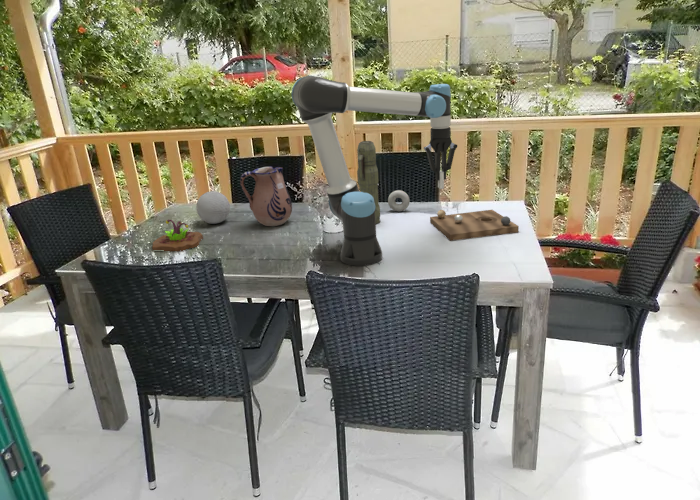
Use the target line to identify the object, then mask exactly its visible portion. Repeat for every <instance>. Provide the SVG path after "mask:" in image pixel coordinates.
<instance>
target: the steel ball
mask: <svg viewBox="0 0 700 500" xmlns="http://www.w3.org/2000/svg"><path fill="white" fill-rule="evenodd" d="M454 221H455V222H456V223H461V222H462V221H463V217H462V216H461V215H456V216H455V217H454Z"/></svg>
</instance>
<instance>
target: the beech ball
mask: <svg viewBox="0 0 700 500" xmlns="http://www.w3.org/2000/svg"><path fill="white" fill-rule="evenodd" d="M436 214H437V215H436V216H438V217H439V218H444V217H445V215H447V214H446V211H445V210H444V209H440V210H438V211H437V213H436Z"/></svg>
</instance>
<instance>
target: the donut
mask: <svg viewBox="0 0 700 500" xmlns="http://www.w3.org/2000/svg"><path fill="white" fill-rule="evenodd" d="M398 198H399V199H401V201H402V202H401V203H399V204H398V203H397V201H396V199H398ZM387 204H388V206H389V208H390V209H392V211H394V212H403V211H405V210H407V209H408V207H409V205H410V196H409V195H408V194H407V193H406V192H405V191H403V190H400V189H398V190H393V191H392V192H391V193H390V194H389V196H388V198H387Z"/></svg>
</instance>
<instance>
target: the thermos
mask: <svg viewBox="0 0 700 500" xmlns="http://www.w3.org/2000/svg"><path fill="white" fill-rule="evenodd" d="M356 151H357V166H358V168H357V171H356V173H357V186H358V189H359V190H360V191H361V192H363V193H368V194H370V195H372V196H373V198H374V203H375V218H376V225H379V224H380V223H381V206H380V203H379V189H378V188H379V187H378V185H379V170H378V167H377V162H376V160H377V155H376V154H377V153H376V151H377V150H376V145H375V144H374V142H373V141H371V140H364V141H363V140H362V141H360V142H359V143H358V145H357V150H356ZM360 191H359V192H360Z"/></svg>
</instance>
